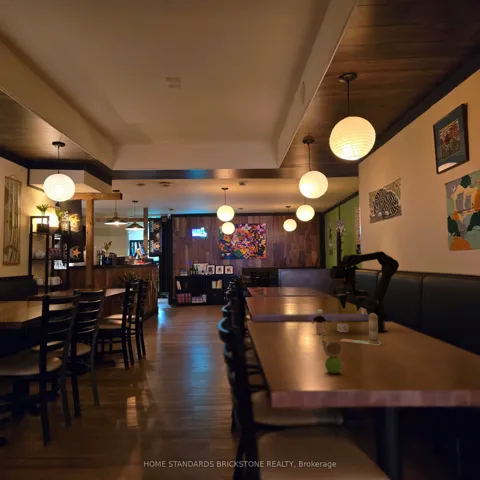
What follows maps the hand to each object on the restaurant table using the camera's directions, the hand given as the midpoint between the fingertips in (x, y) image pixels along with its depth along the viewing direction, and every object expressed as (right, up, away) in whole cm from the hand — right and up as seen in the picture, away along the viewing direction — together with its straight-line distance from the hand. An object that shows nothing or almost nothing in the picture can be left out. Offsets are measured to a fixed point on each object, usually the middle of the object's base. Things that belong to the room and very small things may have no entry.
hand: (350, 309), depth 195 cm
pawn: (+2, -10, -27) cm, 29 cm away
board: (-3, -11, -24) cm, 26 cm away
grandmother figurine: (-17, -12, -4) cm, 21 cm away
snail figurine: (-26, -8, -70) cm, 75 cm away
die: (-3, -12, +4) cm, 13 cm away
